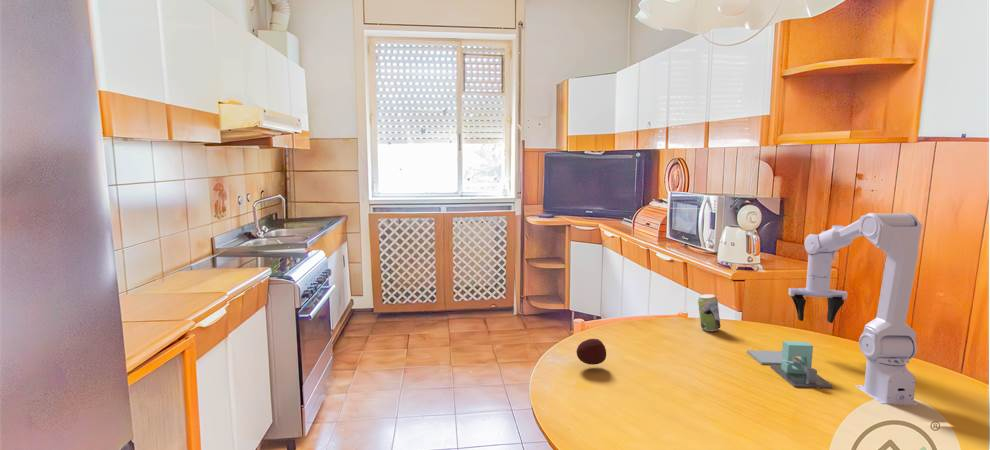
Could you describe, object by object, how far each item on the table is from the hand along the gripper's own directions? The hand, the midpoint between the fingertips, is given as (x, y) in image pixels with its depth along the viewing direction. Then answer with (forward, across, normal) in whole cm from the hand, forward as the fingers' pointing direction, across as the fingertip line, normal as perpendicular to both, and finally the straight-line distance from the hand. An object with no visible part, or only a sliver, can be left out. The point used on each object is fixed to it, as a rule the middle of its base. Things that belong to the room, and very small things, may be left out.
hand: (815, 320), depth 142 cm
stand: (+10, +10, +20) cm, 25 cm away
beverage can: (+10, +26, -14) cm, 31 cm away
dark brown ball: (+10, +63, +24) cm, 69 cm away
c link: (+9, +10, +18) cm, 23 cm away
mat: (+10, +12, +8) cm, 18 cm away
